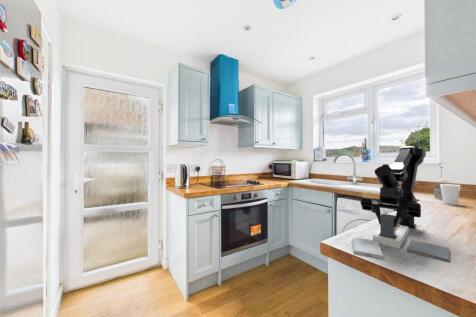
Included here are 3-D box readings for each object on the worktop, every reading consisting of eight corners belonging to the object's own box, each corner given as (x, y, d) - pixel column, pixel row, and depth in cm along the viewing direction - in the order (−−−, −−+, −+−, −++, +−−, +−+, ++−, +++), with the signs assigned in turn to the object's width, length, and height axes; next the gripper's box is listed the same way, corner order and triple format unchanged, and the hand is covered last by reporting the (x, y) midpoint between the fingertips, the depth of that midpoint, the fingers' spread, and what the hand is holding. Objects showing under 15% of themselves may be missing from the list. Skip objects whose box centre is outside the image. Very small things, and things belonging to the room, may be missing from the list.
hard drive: (352, 237, 78) (353, 250, 67) (378, 241, 74) (383, 255, 63) (352, 241, 78) (354, 255, 67) (378, 245, 74) (383, 260, 63)
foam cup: (462, 206, 131) (462, 186, 131) (443, 204, 136) (443, 185, 136) (457, 203, 139) (456, 184, 139) (438, 201, 144) (438, 183, 144)
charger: (382, 239, 79) (382, 213, 79) (395, 242, 76) (395, 215, 76) (380, 241, 76) (380, 215, 76) (393, 245, 73) (393, 217, 73)
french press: (437, 200, 150) (437, 166, 150) (428, 197, 161) (428, 166, 161) (454, 201, 147) (454, 166, 147) (444, 198, 158) (443, 166, 158)
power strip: (385, 227, 91) (385, 221, 91) (408, 232, 85) (408, 225, 86) (372, 241, 76) (372, 233, 76) (399, 248, 70) (399, 239, 70)
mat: (411, 241, 76) (411, 239, 76) (449, 250, 69) (449, 248, 69) (406, 251, 69) (406, 248, 69) (449, 261, 61) (449, 259, 61)
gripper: (361, 178, 85) (355, 209, 77) (420, 181, 73) (421, 218, 65) (364, 194, 91) (359, 224, 83) (420, 199, 79) (421, 235, 70)
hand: (387, 225), depth 75 cm, fingers closed on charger, 4 cm apart
